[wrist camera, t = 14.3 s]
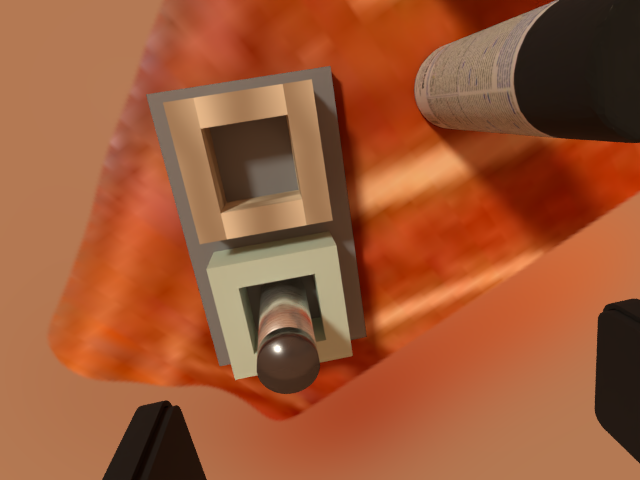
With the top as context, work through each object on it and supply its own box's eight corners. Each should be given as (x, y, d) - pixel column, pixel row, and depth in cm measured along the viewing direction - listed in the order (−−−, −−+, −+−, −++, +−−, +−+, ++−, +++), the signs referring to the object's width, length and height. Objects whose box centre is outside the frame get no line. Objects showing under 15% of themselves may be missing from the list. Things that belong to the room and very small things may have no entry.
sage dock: (329, 231, 34) (336, 245, 31) (344, 331, 38) (352, 355, 34) (213, 252, 34) (206, 269, 30) (238, 352, 37) (235, 379, 33)
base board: (327, 68, 32) (330, 66, 31) (363, 328, 39) (366, 336, 38) (151, 95, 31) (146, 94, 30) (221, 356, 39) (219, 366, 37)
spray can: (494, 113, 35) (765, 109, 16) (421, 140, 35) (603, 169, 16) (478, 32, 33) (768, -86, 14) (401, 61, 33) (582, -17, 14)
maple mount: (306, 83, 31) (311, 79, 27) (325, 208, 34) (332, 220, 30) (176, 104, 30) (162, 102, 26) (208, 229, 33) (199, 244, 29)
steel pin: (301, 269, 35) (314, 333, 25) (308, 309, 36) (324, 386, 26) (256, 277, 35) (250, 346, 25) (265, 317, 36) (263, 399, 26)
